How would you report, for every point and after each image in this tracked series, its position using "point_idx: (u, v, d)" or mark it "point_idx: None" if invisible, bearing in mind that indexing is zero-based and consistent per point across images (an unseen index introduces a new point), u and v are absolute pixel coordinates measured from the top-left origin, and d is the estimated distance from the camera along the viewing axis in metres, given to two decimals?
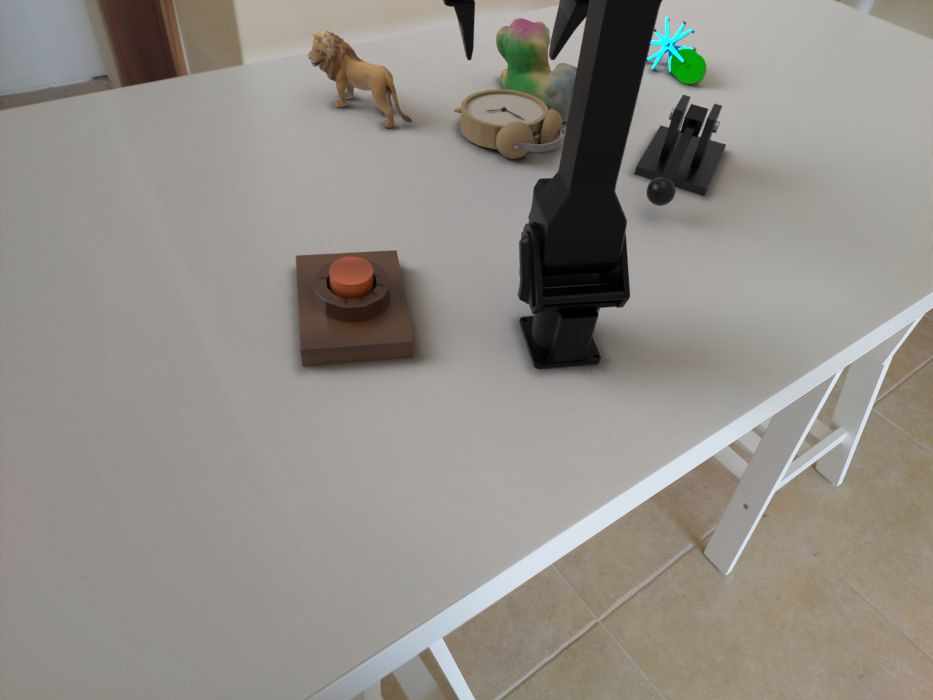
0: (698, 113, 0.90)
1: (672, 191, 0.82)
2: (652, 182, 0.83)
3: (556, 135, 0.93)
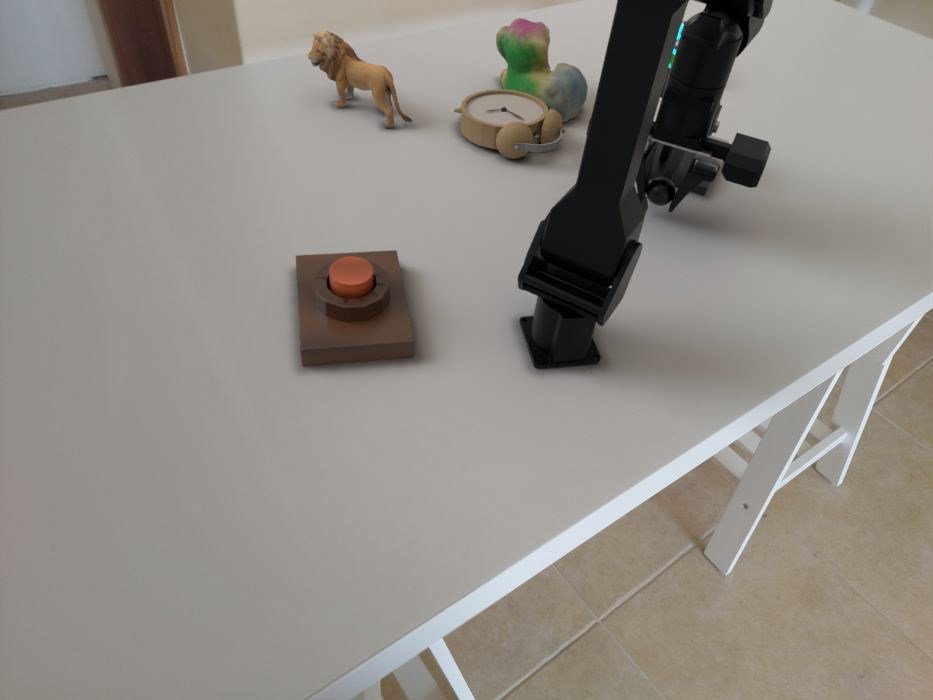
0: None
1: (672, 191, 0.82)
2: (652, 182, 0.83)
3: (556, 135, 0.93)
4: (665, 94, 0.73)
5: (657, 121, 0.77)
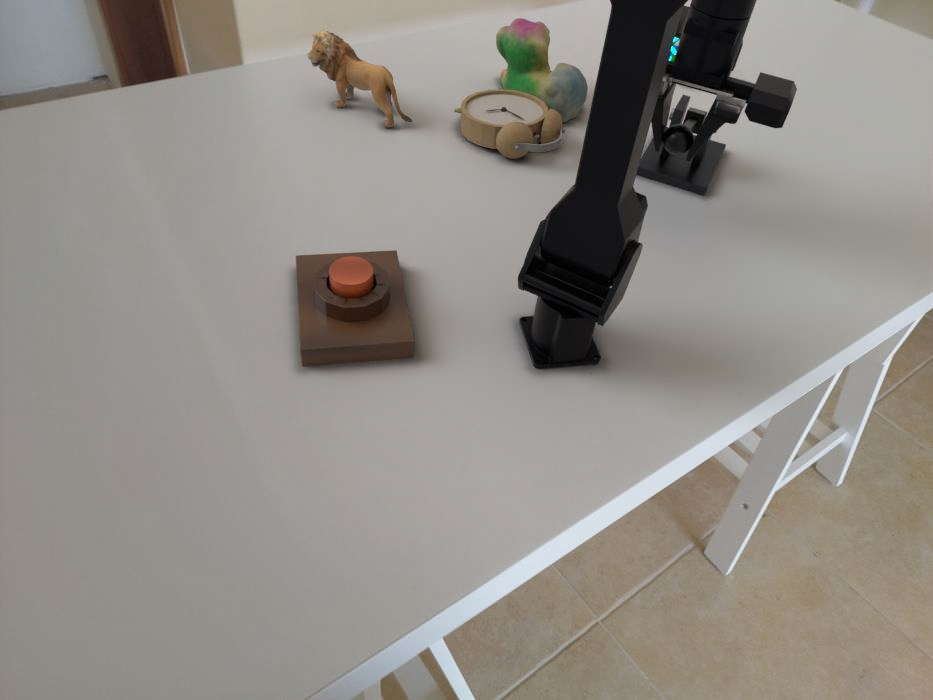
0: (699, 111, 0.90)
1: (691, 135, 0.78)
2: None
3: (556, 135, 0.93)
4: (686, 26, 0.69)
5: (676, 59, 0.73)
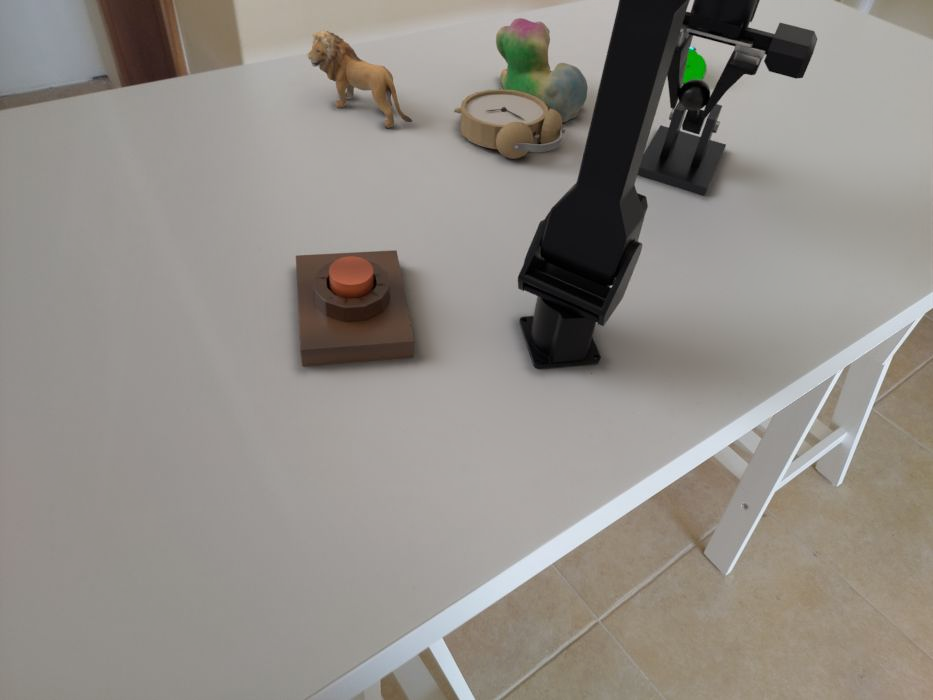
0: None
1: (709, 89, 0.77)
2: (687, 81, 0.77)
3: (556, 135, 0.93)
4: None
5: (694, 8, 0.71)
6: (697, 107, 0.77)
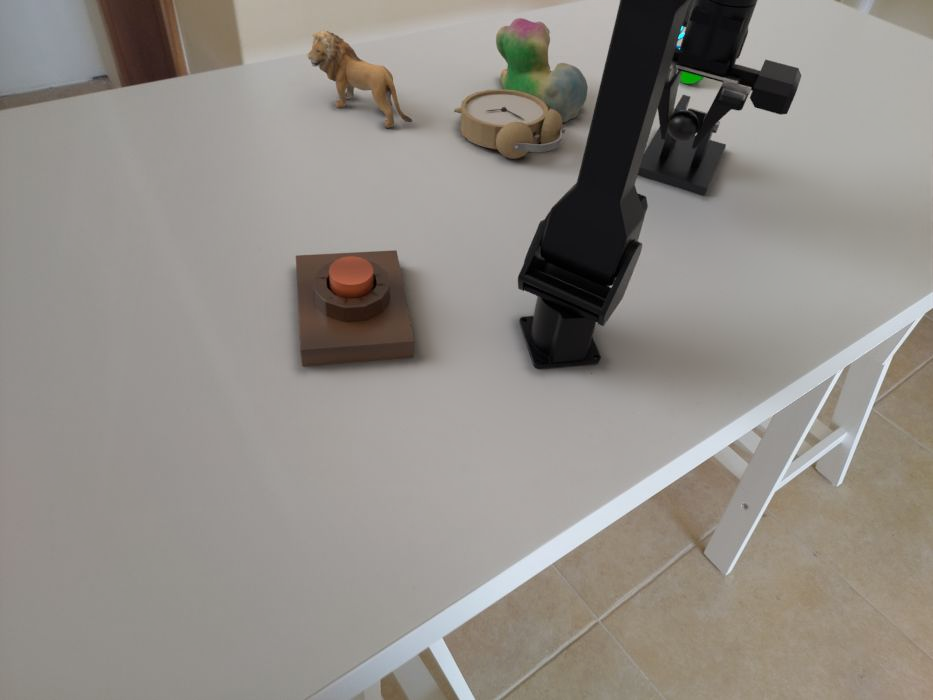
0: (699, 111, 0.90)
1: (697, 121, 0.78)
2: None
3: (556, 135, 0.93)
4: (692, 14, 0.70)
5: (682, 46, 0.74)
6: (685, 139, 0.78)
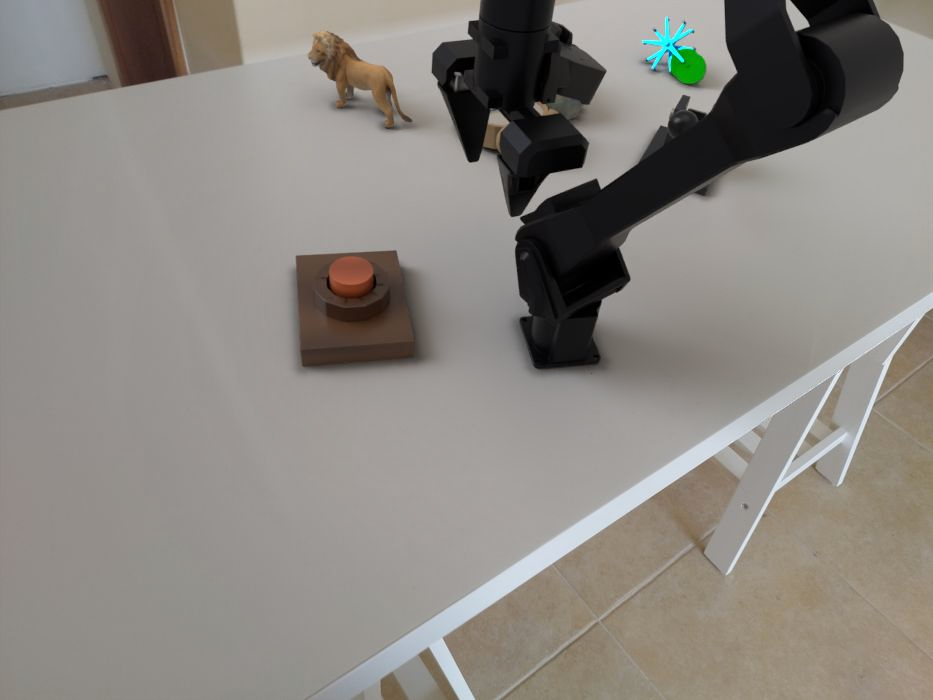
0: (699, 111, 0.90)
1: (697, 121, 0.78)
2: None
3: None
4: (468, 26, 0.59)
5: None
6: None
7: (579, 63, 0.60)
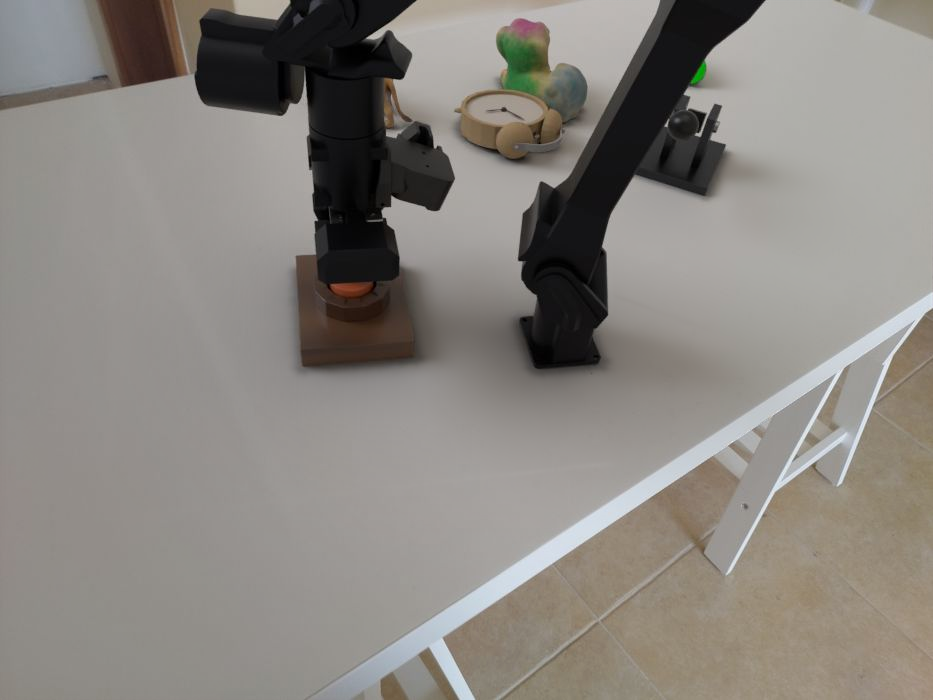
0: (699, 111, 0.90)
1: (697, 121, 0.78)
2: None
3: (556, 135, 0.93)
4: (308, 122, 0.58)
5: None
6: (685, 139, 0.78)
7: (417, 171, 0.58)
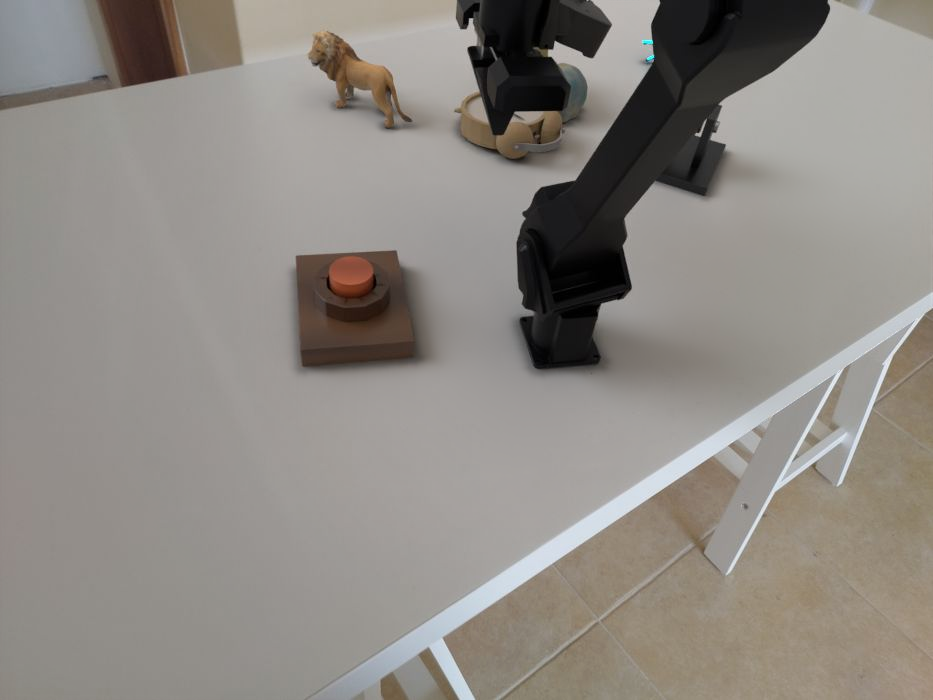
0: None
1: None
2: None
3: (556, 135, 0.93)
4: None
5: None
6: None
7: (580, 12, 0.61)
